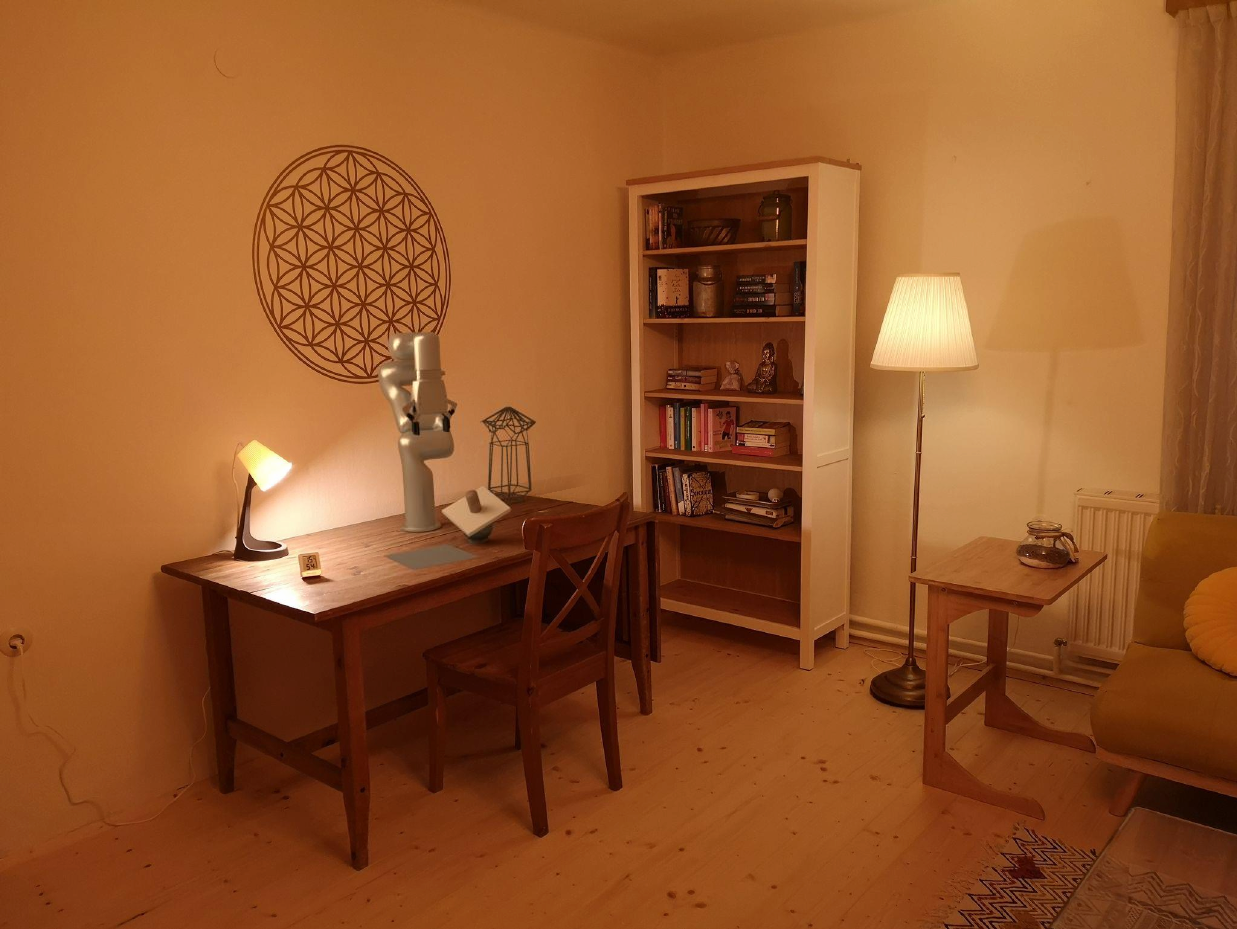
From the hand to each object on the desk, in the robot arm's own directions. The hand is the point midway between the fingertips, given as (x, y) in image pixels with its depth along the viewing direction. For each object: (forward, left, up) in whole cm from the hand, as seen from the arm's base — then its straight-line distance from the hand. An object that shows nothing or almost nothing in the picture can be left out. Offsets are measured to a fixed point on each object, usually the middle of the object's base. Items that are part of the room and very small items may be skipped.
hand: (431, 433), depth 285 cm
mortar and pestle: (+8, +10, -34) cm, 36 cm away
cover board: (+9, +9, -24) cm, 27 cm away
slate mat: (+16, -10, -33) cm, 38 cm away
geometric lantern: (-39, +49, -34) cm, 71 cm away
